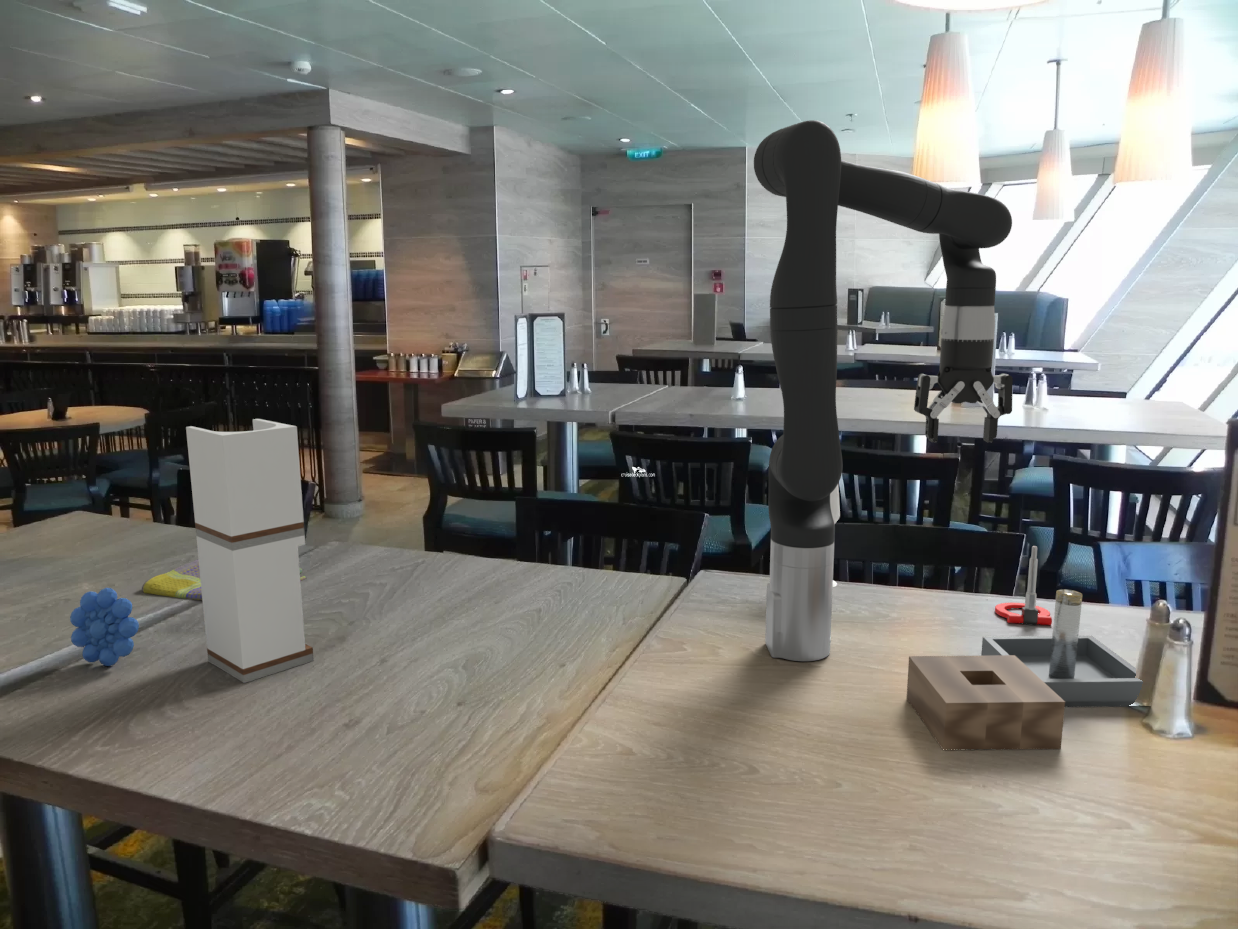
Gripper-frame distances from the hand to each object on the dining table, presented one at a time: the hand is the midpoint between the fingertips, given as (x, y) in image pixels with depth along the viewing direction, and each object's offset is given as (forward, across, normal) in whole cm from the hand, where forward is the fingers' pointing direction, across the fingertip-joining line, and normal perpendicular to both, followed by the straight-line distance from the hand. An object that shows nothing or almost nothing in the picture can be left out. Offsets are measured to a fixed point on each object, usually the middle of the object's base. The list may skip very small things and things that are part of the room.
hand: (960, 441), depth 146 cm
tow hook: (+30, +14, +4) cm, 34 cm away
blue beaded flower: (+30, -128, -13) cm, 132 cm away
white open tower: (+30, -106, -13) cm, 111 cm away
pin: (+29, +8, -22) cm, 37 cm away
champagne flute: (+30, -16, +22) cm, 41 cm away
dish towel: (+31, -126, +23) cm, 132 cm away
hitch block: (+30, -8, -34) cm, 46 cm away
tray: (+30, +8, -22) cm, 38 cm away
